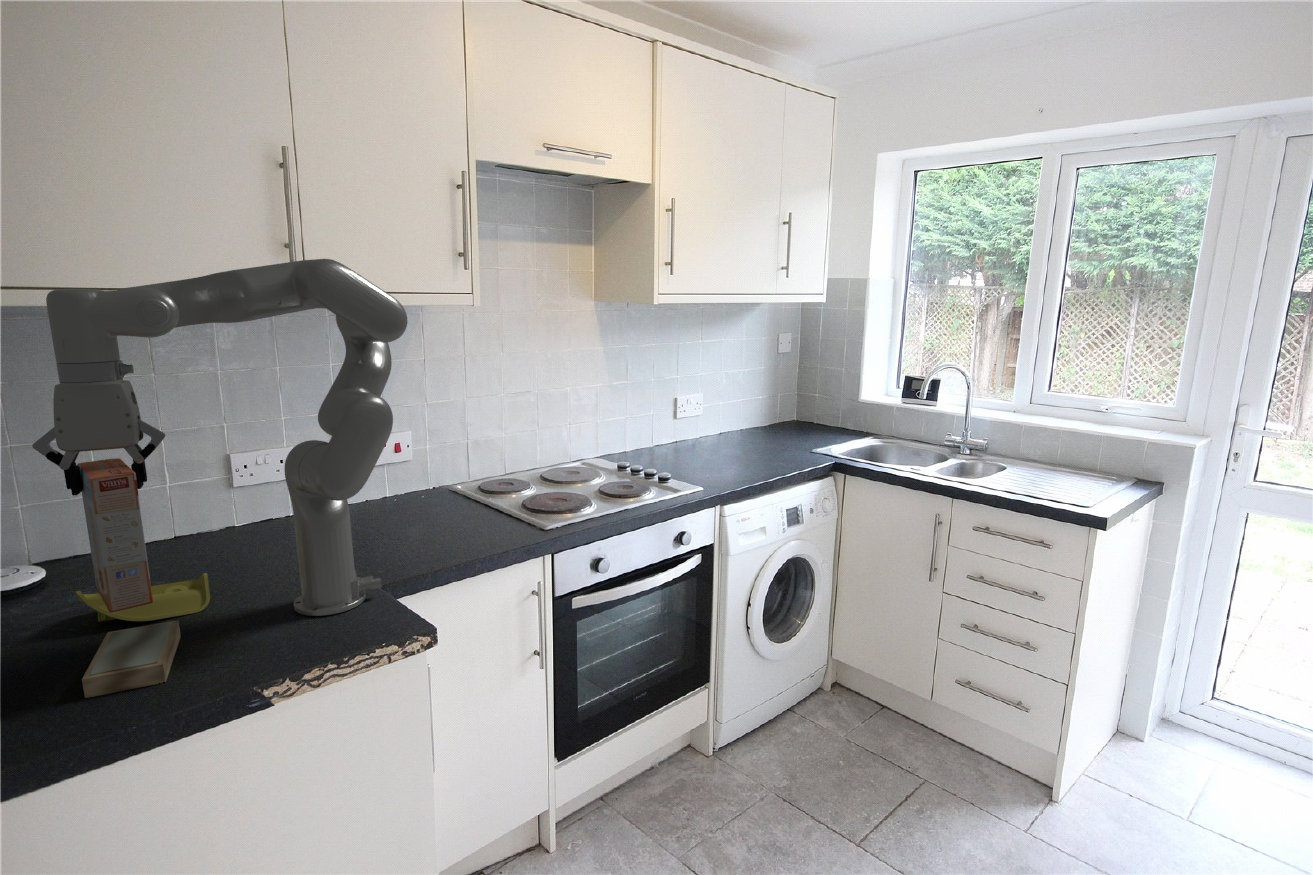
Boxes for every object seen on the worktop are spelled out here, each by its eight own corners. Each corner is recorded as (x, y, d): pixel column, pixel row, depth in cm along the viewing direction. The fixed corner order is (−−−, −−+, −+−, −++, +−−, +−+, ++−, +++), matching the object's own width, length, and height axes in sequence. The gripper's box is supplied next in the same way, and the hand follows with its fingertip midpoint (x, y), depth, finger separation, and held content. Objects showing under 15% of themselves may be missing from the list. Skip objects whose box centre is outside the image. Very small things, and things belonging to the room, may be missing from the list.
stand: (180, 636, 127) (178, 619, 126) (165, 682, 112) (162, 663, 111) (110, 648, 122) (107, 631, 122) (85, 698, 107) (81, 678, 107)
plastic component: (202, 579, 146) (207, 571, 139) (205, 615, 145) (211, 610, 137) (76, 597, 134) (74, 590, 126) (78, 637, 133) (77, 632, 125)
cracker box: (157, 603, 112) (136, 470, 107) (108, 615, 107) (85, 478, 103) (140, 578, 122) (121, 455, 117) (95, 588, 117) (74, 461, 113)
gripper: (164, 368, 115) (179, 478, 118) (24, 374, 107) (44, 491, 111) (156, 373, 108) (172, 489, 112) (6, 379, 101) (29, 503, 104)
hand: (108, 489), depth 111 cm, fingers closed on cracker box, 7 cm apart
